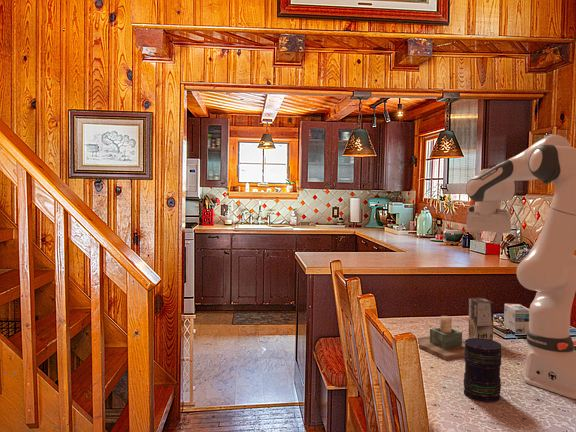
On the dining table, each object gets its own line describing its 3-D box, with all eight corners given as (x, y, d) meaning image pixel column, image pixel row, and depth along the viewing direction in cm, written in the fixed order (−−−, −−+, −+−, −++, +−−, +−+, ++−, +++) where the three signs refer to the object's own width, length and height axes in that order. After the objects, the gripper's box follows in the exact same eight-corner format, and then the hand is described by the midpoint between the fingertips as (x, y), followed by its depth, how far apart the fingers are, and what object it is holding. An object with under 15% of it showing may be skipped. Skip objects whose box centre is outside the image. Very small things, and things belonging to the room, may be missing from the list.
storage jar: (470, 385, 143) (471, 335, 142) (504, 393, 137) (506, 342, 136) (458, 396, 135) (459, 344, 134) (494, 406, 129) (495, 351, 128)
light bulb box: (531, 336, 191) (532, 309, 190) (514, 336, 191) (515, 309, 190) (519, 328, 202) (519, 303, 201) (503, 328, 202) (503, 303, 201)
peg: (453, 344, 175) (453, 317, 175) (445, 346, 174) (445, 319, 173) (446, 341, 179) (446, 315, 178) (437, 343, 177) (437, 316, 177)
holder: (484, 353, 171) (485, 335, 170) (445, 360, 164) (445, 341, 163) (445, 337, 189) (446, 321, 189) (408, 343, 182) (409, 326, 182)
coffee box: (493, 345, 180) (494, 302, 179) (476, 345, 180) (477, 302, 179) (484, 337, 189) (485, 297, 188) (467, 337, 189) (468, 297, 188)
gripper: (515, 209, 185) (514, 244, 186) (475, 207, 204) (474, 239, 205) (503, 209, 183) (502, 245, 183) (464, 207, 201) (463, 240, 202)
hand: (487, 242), depth 194 cm, fingers open, 8 cm apart
